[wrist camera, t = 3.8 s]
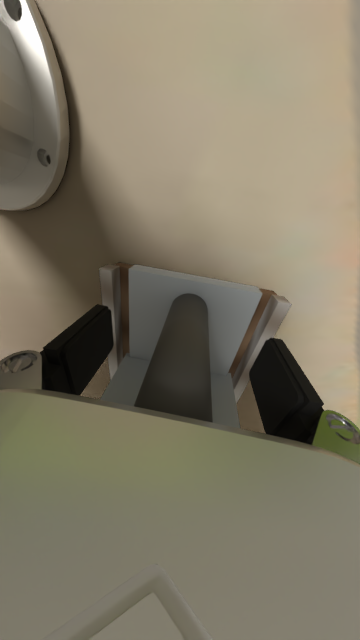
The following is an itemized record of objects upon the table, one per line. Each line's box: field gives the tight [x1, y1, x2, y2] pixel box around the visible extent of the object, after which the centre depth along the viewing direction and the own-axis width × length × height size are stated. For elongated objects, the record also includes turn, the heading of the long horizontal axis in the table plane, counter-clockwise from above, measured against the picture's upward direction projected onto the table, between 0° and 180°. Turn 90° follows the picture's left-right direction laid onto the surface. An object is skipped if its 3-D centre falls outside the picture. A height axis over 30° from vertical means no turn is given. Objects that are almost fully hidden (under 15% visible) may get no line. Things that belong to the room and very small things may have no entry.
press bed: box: [99, 263, 292, 404], centre depth 18 cm, size 15×15×2 cm
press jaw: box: [100, 264, 262, 428], centre depth 12 cm, size 12×11×12 cm
